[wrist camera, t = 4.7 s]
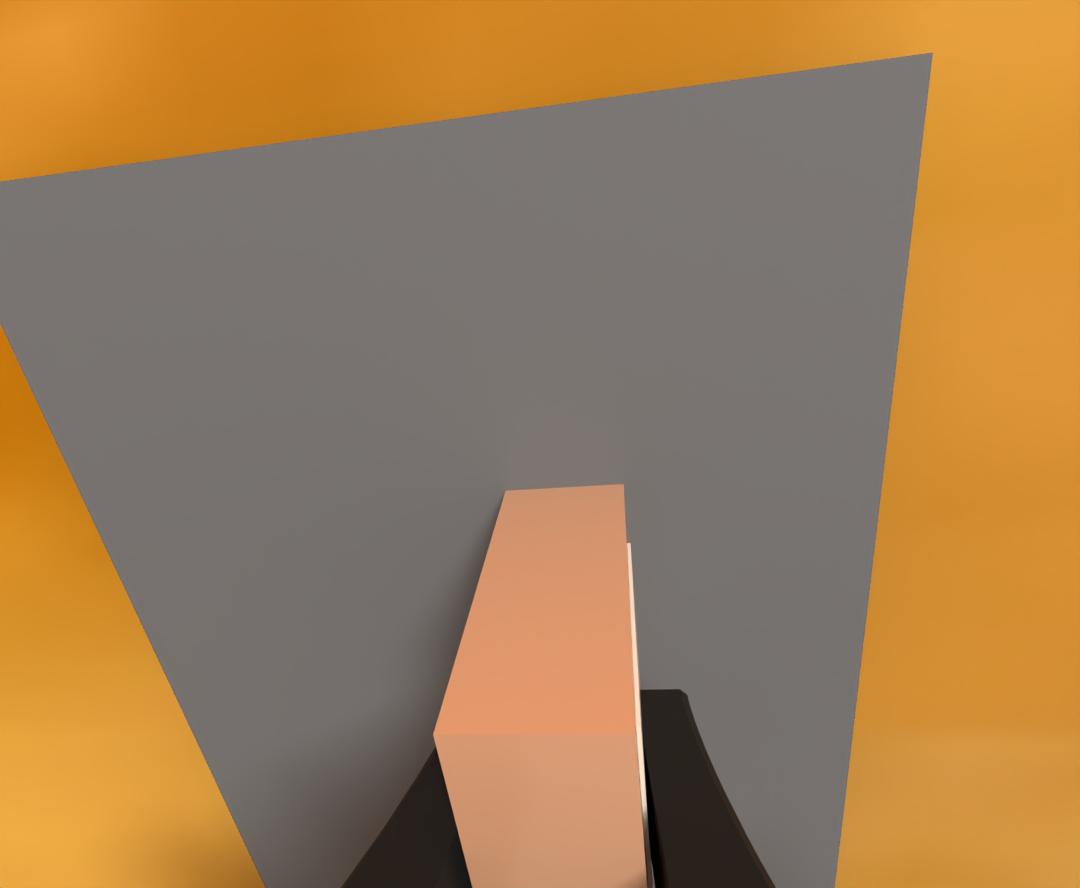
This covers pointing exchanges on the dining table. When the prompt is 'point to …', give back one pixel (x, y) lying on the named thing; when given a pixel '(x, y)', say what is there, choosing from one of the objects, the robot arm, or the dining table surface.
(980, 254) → the dining table surface
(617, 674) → the tile
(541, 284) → the mat
